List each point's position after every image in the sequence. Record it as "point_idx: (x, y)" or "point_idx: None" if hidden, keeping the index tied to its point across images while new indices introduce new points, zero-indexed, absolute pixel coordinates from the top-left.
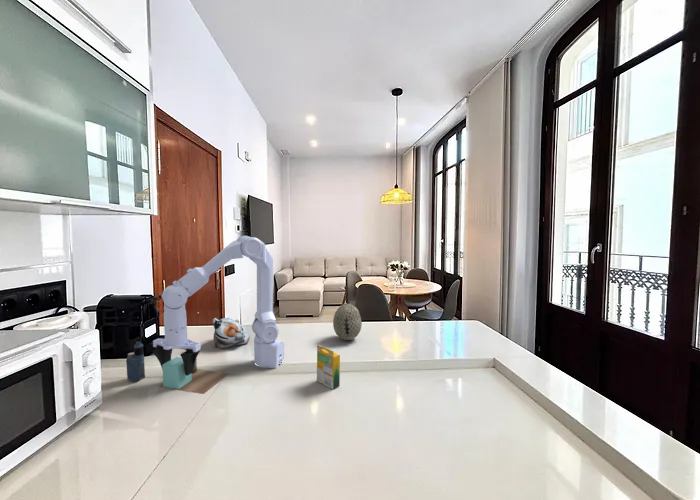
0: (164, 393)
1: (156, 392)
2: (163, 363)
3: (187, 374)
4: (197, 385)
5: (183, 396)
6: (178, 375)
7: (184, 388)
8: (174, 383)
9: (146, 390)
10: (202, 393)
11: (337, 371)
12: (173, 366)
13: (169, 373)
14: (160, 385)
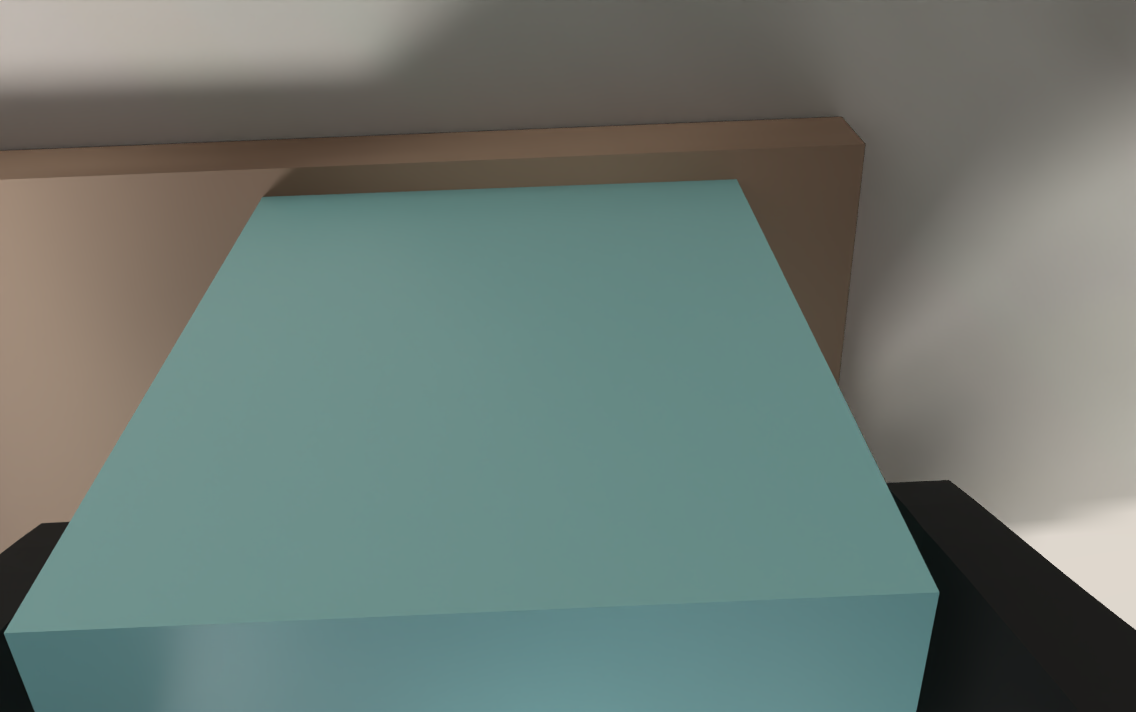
0: (577, 29)
1: (807, 6)
2: (1034, 699)
3: (14, 546)
4: (1, 442)
5: (18, 58)
6: (149, 398)
7: (157, 260)
8: (370, 247)
9: (1123, 7)
10: None
11: None
12: (271, 610)
13: (532, 390)
14: (849, 197)
